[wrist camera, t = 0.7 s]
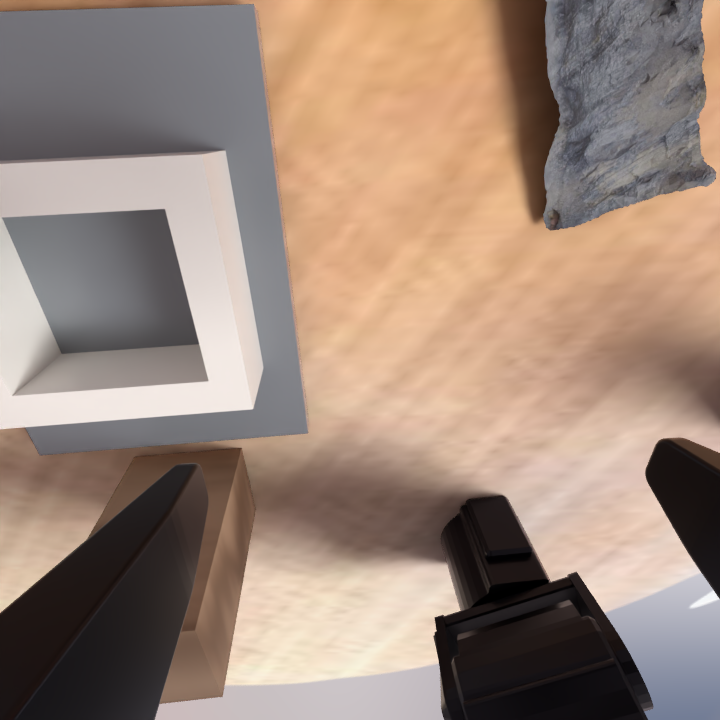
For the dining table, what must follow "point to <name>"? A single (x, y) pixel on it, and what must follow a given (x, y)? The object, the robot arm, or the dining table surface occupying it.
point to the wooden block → (203, 566)
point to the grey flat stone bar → (623, 104)
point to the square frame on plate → (142, 232)
